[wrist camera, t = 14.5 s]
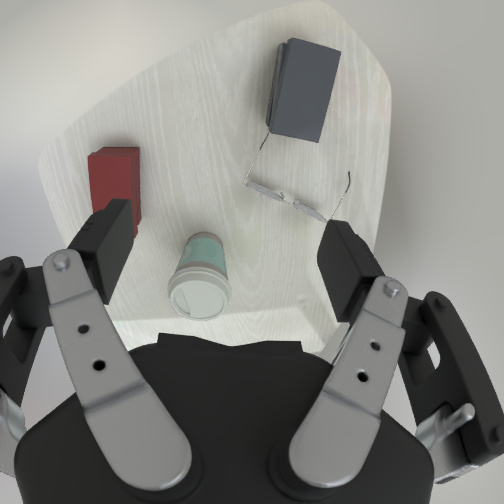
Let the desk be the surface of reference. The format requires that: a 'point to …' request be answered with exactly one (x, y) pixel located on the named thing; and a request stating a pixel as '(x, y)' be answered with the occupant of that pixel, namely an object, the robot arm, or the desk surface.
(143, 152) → the desk surface
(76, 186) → the desk surface
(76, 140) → the desk surface
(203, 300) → the coffee cup
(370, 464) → the robot arm
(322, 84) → the grey books
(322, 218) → the eyeglasses
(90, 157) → the thin oxblood book
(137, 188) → the oxblood books
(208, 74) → the desk surface
